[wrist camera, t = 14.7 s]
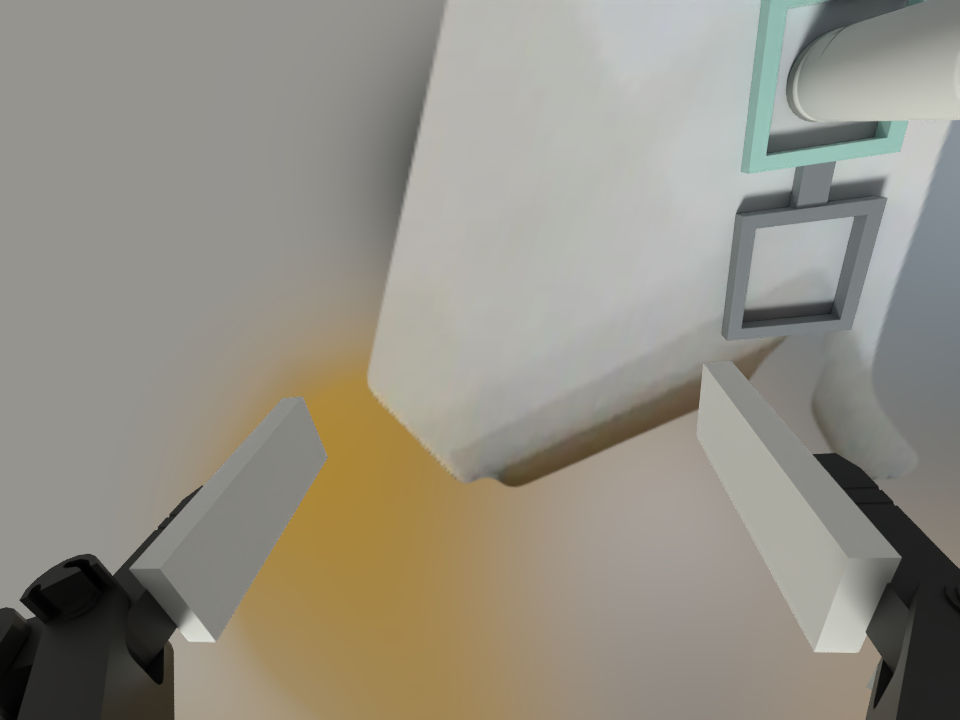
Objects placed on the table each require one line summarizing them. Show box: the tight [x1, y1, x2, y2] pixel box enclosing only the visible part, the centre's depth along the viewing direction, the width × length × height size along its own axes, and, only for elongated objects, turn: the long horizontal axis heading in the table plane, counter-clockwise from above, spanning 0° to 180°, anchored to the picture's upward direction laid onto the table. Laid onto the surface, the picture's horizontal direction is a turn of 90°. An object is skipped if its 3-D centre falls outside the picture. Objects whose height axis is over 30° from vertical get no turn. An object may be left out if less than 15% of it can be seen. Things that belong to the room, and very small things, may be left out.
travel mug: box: [786, 0, 960, 122], centre depth 25 cm, size 6×7×20 cm
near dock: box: [741, 0, 928, 174], centre depth 33 cm, size 12×11×2 cm
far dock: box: [722, 161, 887, 341], centre depth 40 cm, size 16×11×2 cm
